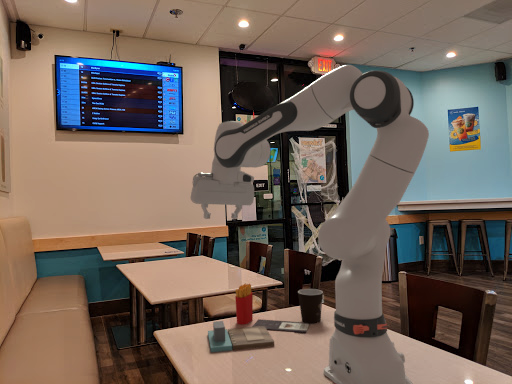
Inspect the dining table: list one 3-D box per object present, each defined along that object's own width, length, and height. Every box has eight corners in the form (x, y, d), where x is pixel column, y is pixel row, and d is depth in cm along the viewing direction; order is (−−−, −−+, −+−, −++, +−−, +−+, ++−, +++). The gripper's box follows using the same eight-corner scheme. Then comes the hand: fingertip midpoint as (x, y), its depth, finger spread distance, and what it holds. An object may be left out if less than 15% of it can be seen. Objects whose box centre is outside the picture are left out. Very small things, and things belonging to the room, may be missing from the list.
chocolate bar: (258, 319, 134) (309, 322, 129) (258, 322, 134) (309, 325, 129) (251, 327, 125) (305, 331, 120) (251, 330, 125) (305, 334, 120)
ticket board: (274, 346, 110) (274, 340, 110) (233, 350, 108) (233, 344, 108) (264, 330, 124) (264, 325, 124) (227, 333, 122) (227, 328, 122)
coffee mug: (313, 326, 126) (312, 296, 126) (293, 320, 133) (292, 292, 133) (334, 318, 134) (333, 290, 134) (314, 313, 141) (314, 286, 141)
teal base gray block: (232, 350, 108) (231, 331, 108) (210, 352, 107) (210, 333, 107) (226, 333, 122) (226, 316, 122) (207, 334, 121) (207, 318, 121)
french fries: (244, 317, 138) (243, 281, 138) (255, 318, 136) (254, 282, 136) (233, 325, 130) (232, 287, 130) (244, 327, 128) (243, 288, 128)
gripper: (197, 173, 109) (192, 220, 111) (258, 177, 120) (253, 220, 121) (189, 170, 115) (185, 215, 116) (249, 175, 125) (244, 216, 126)
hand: (220, 218), depth 119 cm, fingers open, 8 cm apart
